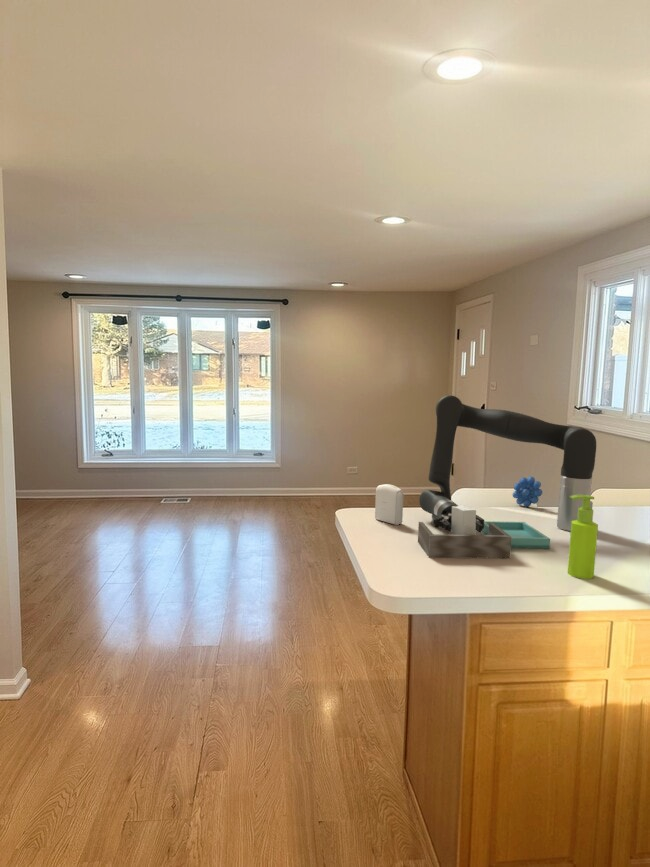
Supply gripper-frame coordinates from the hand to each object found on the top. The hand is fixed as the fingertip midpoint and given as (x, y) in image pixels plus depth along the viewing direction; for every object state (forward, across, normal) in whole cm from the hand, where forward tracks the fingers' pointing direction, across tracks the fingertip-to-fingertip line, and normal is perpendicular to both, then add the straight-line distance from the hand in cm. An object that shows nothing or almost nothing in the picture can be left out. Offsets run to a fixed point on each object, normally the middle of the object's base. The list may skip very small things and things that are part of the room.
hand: (464, 528), depth 147 cm
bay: (-2, 0, +7) cm, 7 cm away
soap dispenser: (+16, +24, +7) cm, 30 cm away
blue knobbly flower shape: (-56, +42, +7) cm, 70 cm away
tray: (-13, +19, +7) cm, 24 cm away
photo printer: (-31, -16, +7) cm, 35 cm away
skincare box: (-2, 0, +7) cm, 7 cm away
